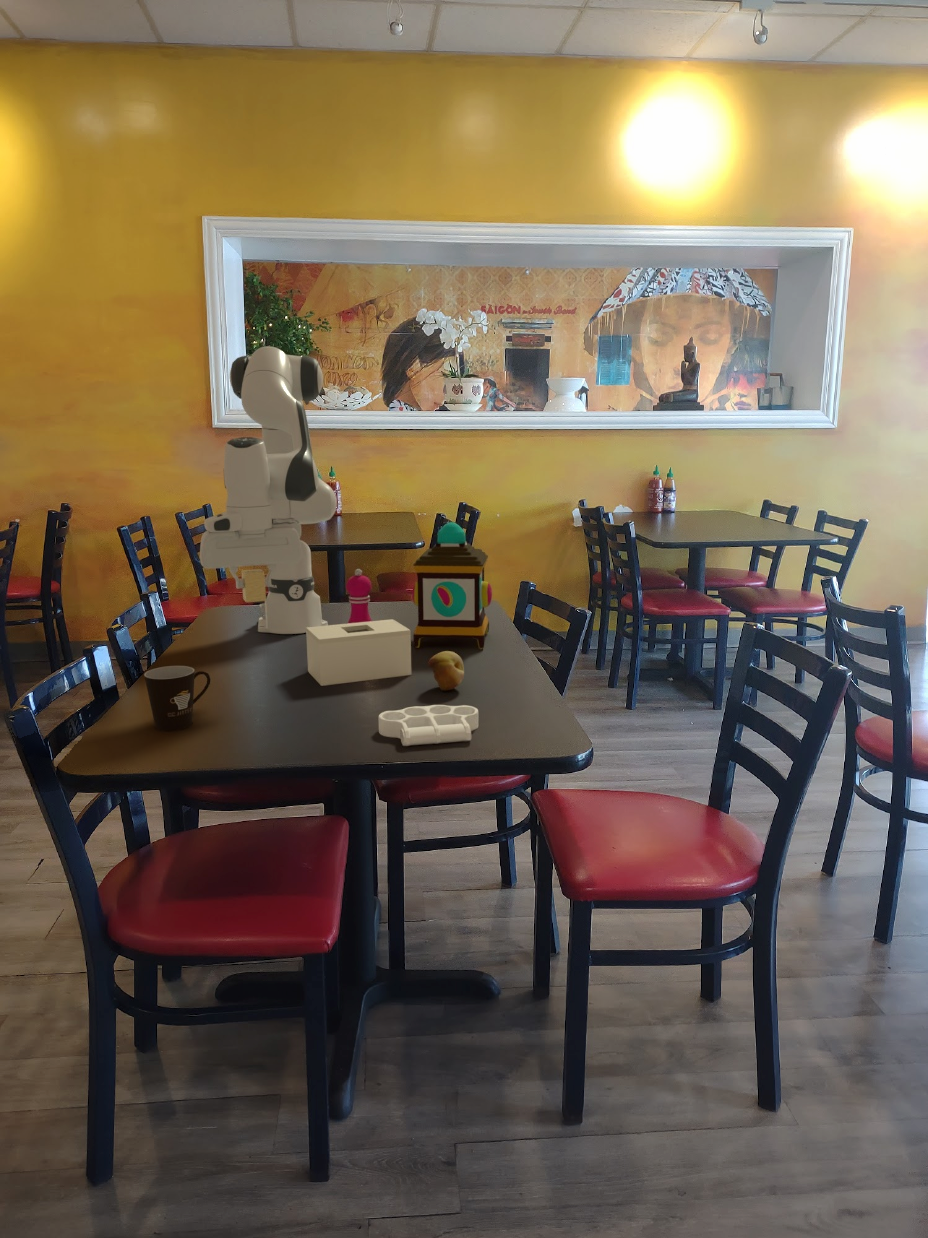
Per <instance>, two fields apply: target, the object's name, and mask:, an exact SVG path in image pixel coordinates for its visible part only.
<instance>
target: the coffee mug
mask: <svg viewBox="0 0 928 1238" xmlns="http://www.w3.org/2000/svg"><path fill="white" fill-rule="evenodd" d="M200 675H203V676H205V678H206V683H205V686H204V687H203V689H202V691H201V692H199V694H197V696H195V697H194V693H195V690H194V689H195V679H196V678H197V677H198V676H200ZM143 677H144V680H145V685H146V689H147V693H148V694H147V695H148V700H149V704H150V708H151V714H152V718H153V722H154V728H155V729H156V730H158V731H162V732H175V731H181V730H184V729H185V730H186V729H188V728H189V727H191V726H192V725H193V716H194V714H193V713H194V704H195V703H197V702H198V701H199V700H200V699H201V697H202V696H203V695H204V694H205V693H206V691H207V690H208V689H209V687H210V684H211V677H210V674H209V673H208V672H207V671H202V670H201V671H197V672H196V671H195V668H193V667H192V666H188V665H187V666H186V665H169V666H161V667H157V668H151V669H150V670H147V671H146V672H144V674H143Z"/></svg>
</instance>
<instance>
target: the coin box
mask: <svg viewBox="0 0 928 1238" xmlns="http://www.w3.org/2000/svg"><path fill="white" fill-rule="evenodd" d="M411 632H412V631H411V629H409V628H408V627H406V626H405V625H403V624H401V623H400V622H398V621H396V620H395V619H393V618H392V619H383V620H382V619H380V620H372V621H369V622H359V623H348V622H347V623H340V624H328V625H327V626H317V627H306V633H305V634H306V637H305V638H306V654H307V657H306V658H307V672H308V673H309V674H310V675H311V677H313V679H314V680H315V681H316V682H317V683H318V684H319V685H320V686H322V687H323V686H331V685H339V684H347V683H355V682H362V681H364V682H365V681H371V680H372V681H373V680H379V679H387V678H397V677H405V676H406V677H407V676H412V646H411V645H412V643H411V642H412V641H411V640H412V639H411V637H412V636H411V634H412V633H411Z"/></svg>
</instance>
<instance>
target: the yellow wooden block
mask: <svg viewBox="0 0 928 1238" xmlns="http://www.w3.org/2000/svg"><path fill="white" fill-rule="evenodd" d="M265 577H266V576H265V571H264V570H263V569H261V568H258V569H257V568H256V569H255V568H254V569H241V579H243V580H244V588H242V599H243V600H244V602H245V603H255V602H257V603H258V602H265V601H266V598H267V596H266V595H267V591H266V590H267V589H266V587H265Z"/></svg>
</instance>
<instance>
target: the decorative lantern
mask: <svg viewBox="0 0 928 1238" xmlns="http://www.w3.org/2000/svg"><path fill="white" fill-rule="evenodd" d="M466 538H467V537H466V533H465V530H464V529H463V528H462V527H461V526H460V525H459V524H458V523H456V522H451V521H450V522H447V523H445V524H444V525H443V526H442V527H441V528H440V529H439V530H438V533H437V542H436V543H435V544H434V545H433V547H432V548H427V549H426V550H425V551H424V552H423V553H422V554H421V555H420V557H418V558H417V559H416V560H415V562H414V563H413V565H412V566H413V569H414V572H415V573H416V576H417V580H416V581H415V582H414V584H413V586H412V590H411V593H412V594H411V597H412V602H413V604H414V605H415V606H416V607H417V612H418V613H417V618H418V621H417V626H416V627H415V629H414V632H413V636H412V637H413V638H412V639H413V645H414V648H416V649H418V648H420V646H421V640H422V638H423V639H424V638H425V639H426V638H430V639H431V638H432V639H433V638H434V639H435V638H436V639H437V638H438V639H474V640H476V641H477V645H478V649H479V650H482V649H484V648H485V647H484V646H485V640H486V639H485V638H486V637H485V636H486V635H487V634H488V633H489V630H490V621H489V618H488V616H487V614H486V613H485V612H486V611H485V608H487V607H489V606H490V605H491V602H492V596H493V589H492V586H491V584H490V583H489V582H488V581H485V565H486V563H487V561H488V558H489V555H488V554H486V552H484V551H482V549H480V548H475V546H472V545H471V543H470V542H469V543H468V541H467V539H466Z"/></svg>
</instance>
